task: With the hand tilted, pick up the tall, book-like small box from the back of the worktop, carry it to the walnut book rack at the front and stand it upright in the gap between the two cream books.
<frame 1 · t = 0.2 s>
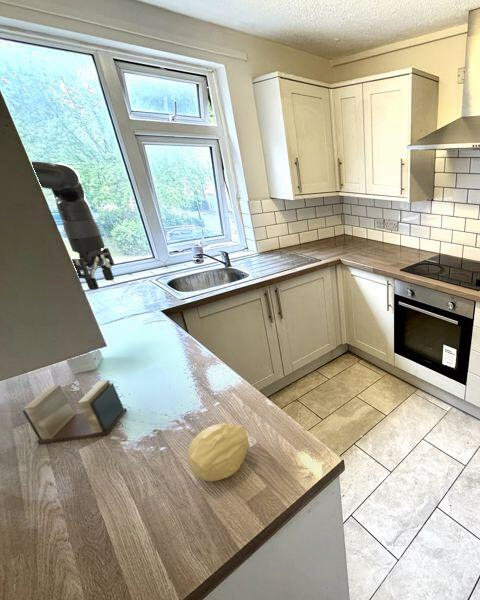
hand: (102, 284, 106), 27 cm above the countertop, tool pointing down, fingers open, 8 cm apart
small box: (88, 366, 111), on the countertop
sculpture: (223, 467, 75), on the countertop
book rack: (85, 426, 86), on the countertop
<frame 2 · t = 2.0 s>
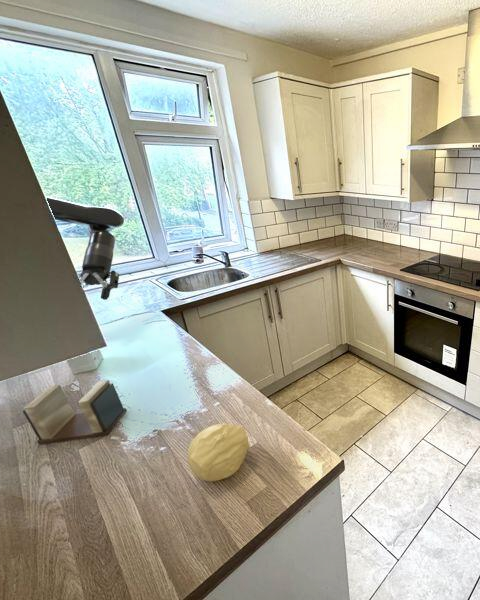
hand: (89, 299, 113), 19 cm above the countertop, tool tilted 45°, fingers open, 8 cm apart
nothing on the countertop moved.
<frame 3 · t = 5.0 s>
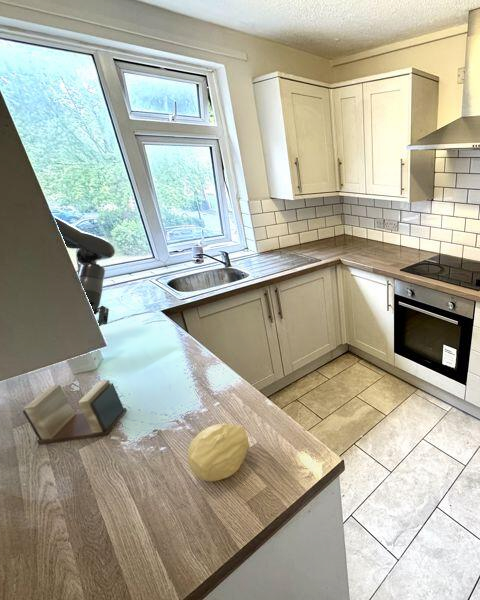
hand: (77, 338, 107), 11 cm above the countertop, tool tilted 45°, fingers open, 8 cm apart
small box: (88, 366, 111), on the countertop, touching gripper
everything else where it was.
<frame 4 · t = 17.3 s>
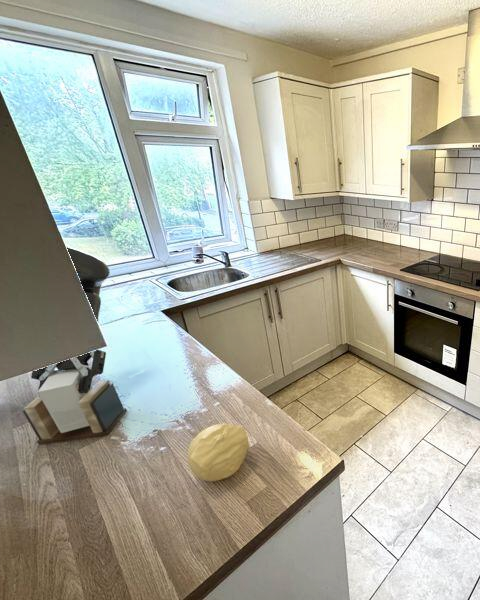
hand: (63, 394, 80), 12 cm above the countertop, tool tilted 45°, fingers closed on small box, 7 cm apart
small box: (82, 419, 85), point 2 cm above the countertop, touching gripper
everything else where it was.
when the fingers open (12 cm above the countertop, at t = 21.2 s): small box stays where it is, resting on book rack.
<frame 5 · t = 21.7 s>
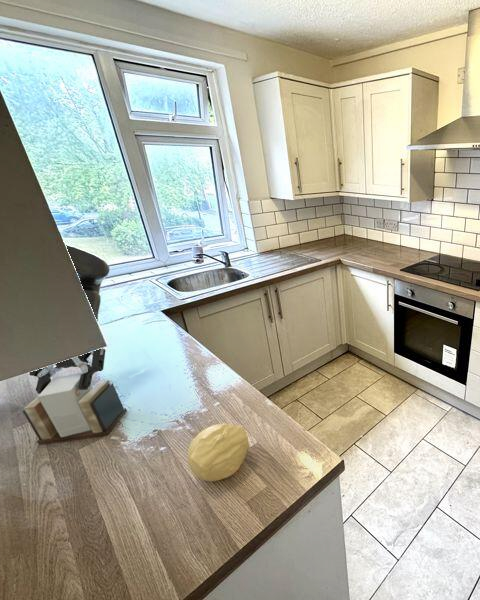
hand: (62, 391, 80), 12 cm above the countertop, tool tilted 45°, fingers open, 8 cm apart
small box: (82, 423, 86), point 1 cm above the countertop, touching book rack, gripper
everything else where it was.
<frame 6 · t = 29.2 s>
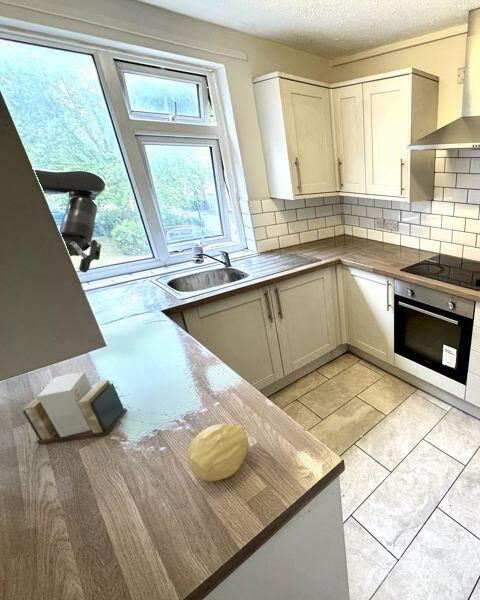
hand: (66, 272, 100), 33 cm above the countertop, tool tilted 45°, fingers open, 8 cm apart
small box: (82, 423, 86), point 1 cm above the countertop, touching book rack
everything else where it was.
at the end: small box 0.4 cm off-centre on the book rack, point 0.8 cm above the book rack's base; small box tilted 0°; the gripper is holding nothing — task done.
